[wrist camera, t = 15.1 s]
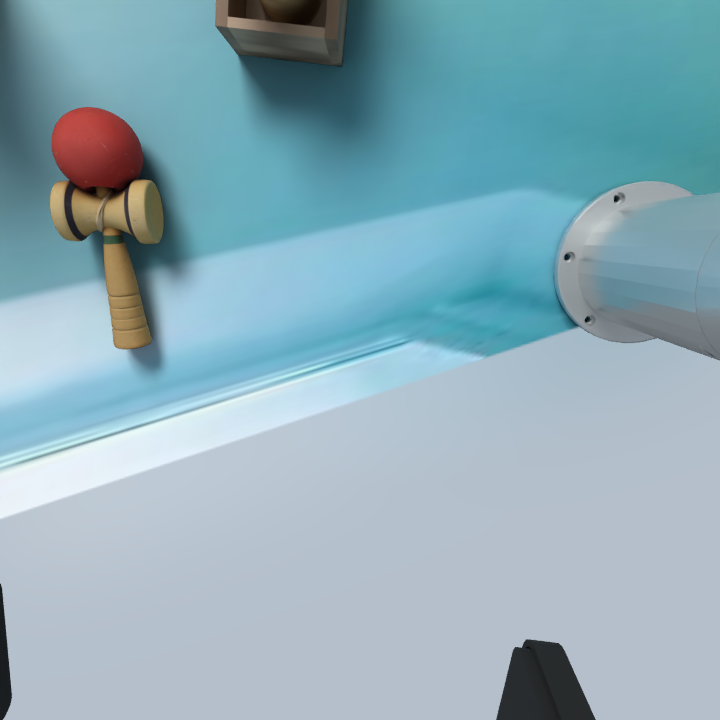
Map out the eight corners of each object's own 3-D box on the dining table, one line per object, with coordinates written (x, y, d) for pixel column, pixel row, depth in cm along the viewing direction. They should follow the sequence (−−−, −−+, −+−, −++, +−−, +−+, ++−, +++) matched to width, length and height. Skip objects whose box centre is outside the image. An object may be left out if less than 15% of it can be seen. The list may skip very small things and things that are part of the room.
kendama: (198, 333, 43) (163, 109, 36) (156, 359, 37) (105, 99, 30) (123, 328, 45) (77, 113, 38) (72, 352, 39) (6, 104, 32)
